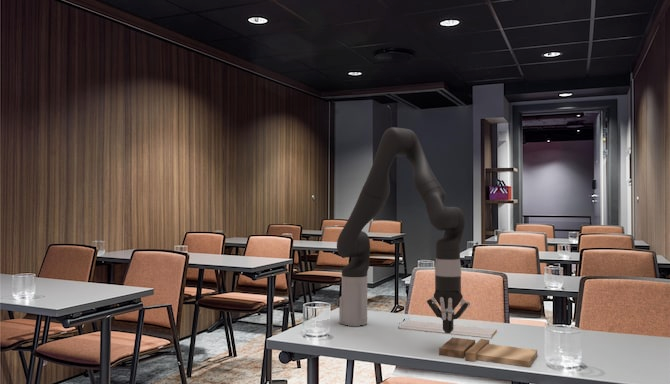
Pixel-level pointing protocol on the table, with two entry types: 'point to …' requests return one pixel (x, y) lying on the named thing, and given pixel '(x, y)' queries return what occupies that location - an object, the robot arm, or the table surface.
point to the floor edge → (500, 354)
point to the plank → (456, 347)
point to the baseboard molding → (456, 331)
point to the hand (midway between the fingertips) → (448, 332)
